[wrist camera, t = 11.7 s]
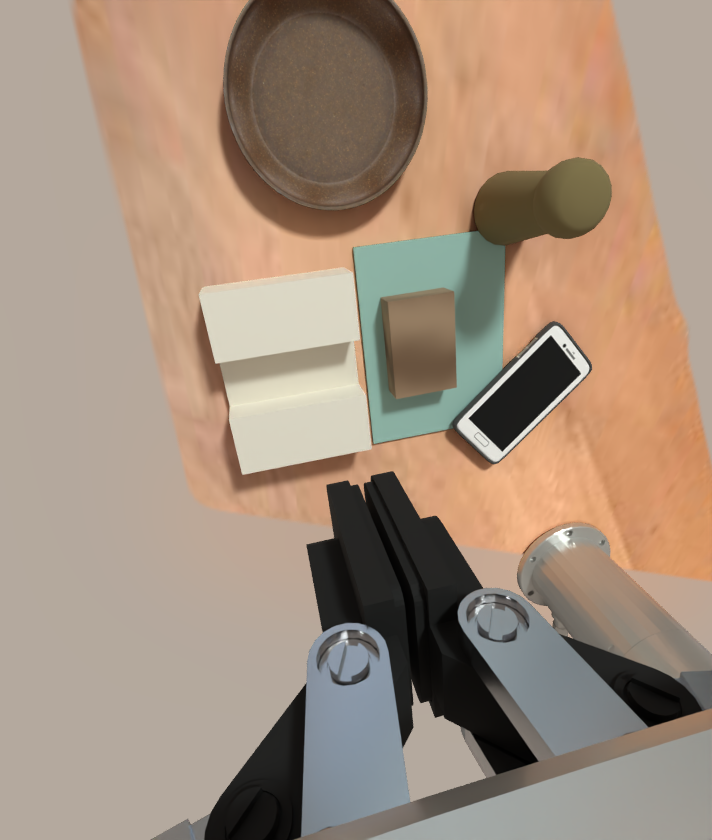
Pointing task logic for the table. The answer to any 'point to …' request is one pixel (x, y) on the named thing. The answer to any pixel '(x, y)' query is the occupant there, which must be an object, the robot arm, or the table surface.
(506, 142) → the table surface
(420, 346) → the brown flat block
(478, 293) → the mat
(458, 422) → the cell phone
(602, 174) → the pepper mill
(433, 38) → the table surface
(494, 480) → the table surface
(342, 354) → the slotted block
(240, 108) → the saucer
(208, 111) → the table surface
